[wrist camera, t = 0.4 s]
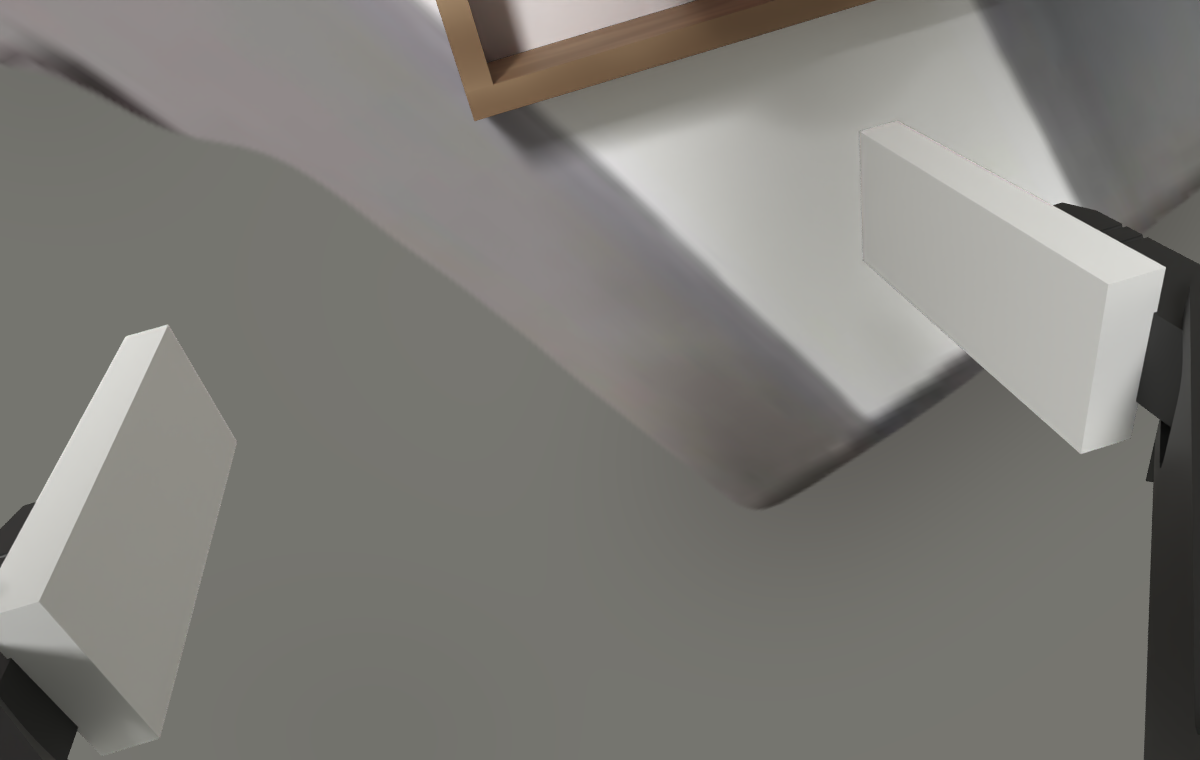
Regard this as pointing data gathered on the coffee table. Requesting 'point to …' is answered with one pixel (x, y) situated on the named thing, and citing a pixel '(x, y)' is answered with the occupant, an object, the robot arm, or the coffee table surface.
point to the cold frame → (612, 47)
